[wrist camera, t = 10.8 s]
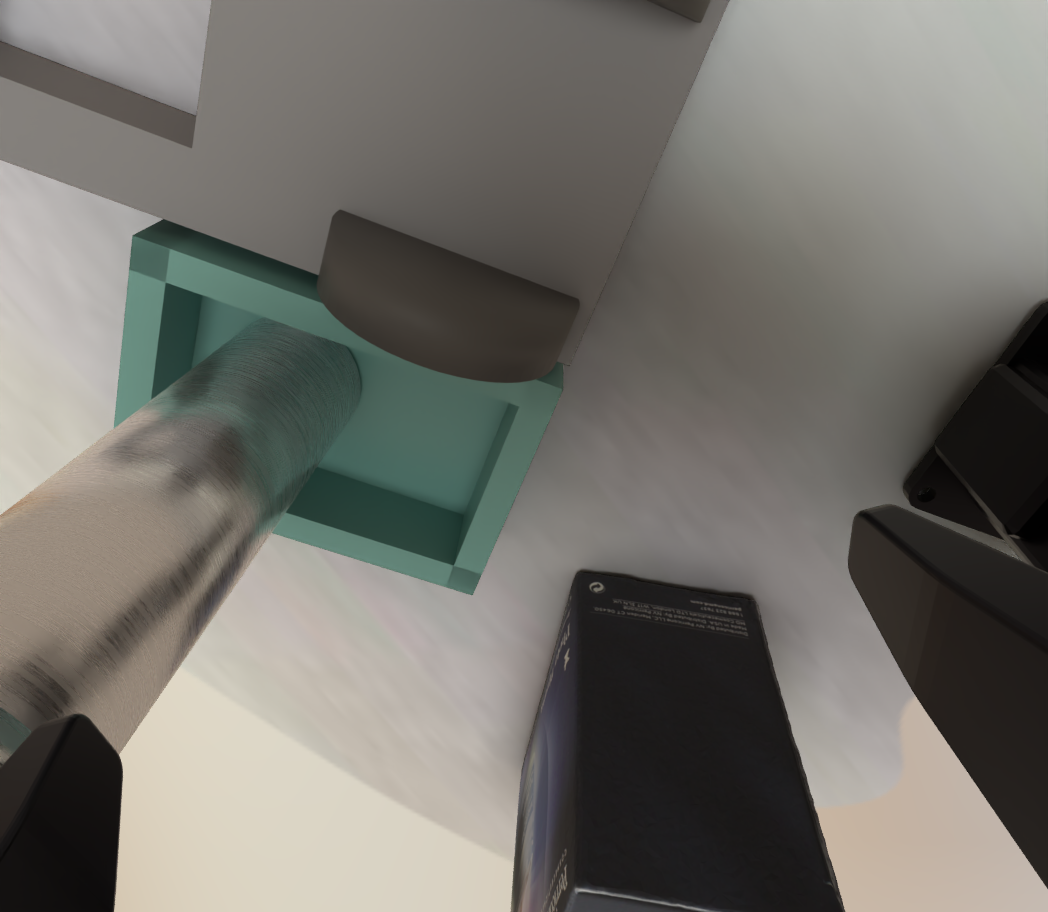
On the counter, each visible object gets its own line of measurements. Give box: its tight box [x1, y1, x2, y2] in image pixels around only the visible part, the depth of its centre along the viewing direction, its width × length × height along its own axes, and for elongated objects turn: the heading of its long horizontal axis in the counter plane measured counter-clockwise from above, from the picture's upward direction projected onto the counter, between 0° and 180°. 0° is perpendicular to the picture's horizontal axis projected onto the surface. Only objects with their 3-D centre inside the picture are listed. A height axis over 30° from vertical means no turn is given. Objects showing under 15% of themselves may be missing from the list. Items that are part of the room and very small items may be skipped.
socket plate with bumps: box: [0, 0, 729, 383], centre depth 14 cm, size 16×9×6 cm, turn 70°
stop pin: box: [0, 317, 360, 767], centre depth 14 cm, size 4×4×14 cm
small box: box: [511, 572, 845, 912], centre depth 23 cm, size 11×6×10 cm, turn 170°
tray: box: [114, 219, 563, 595], centre depth 20 cm, size 10×7×3 cm
